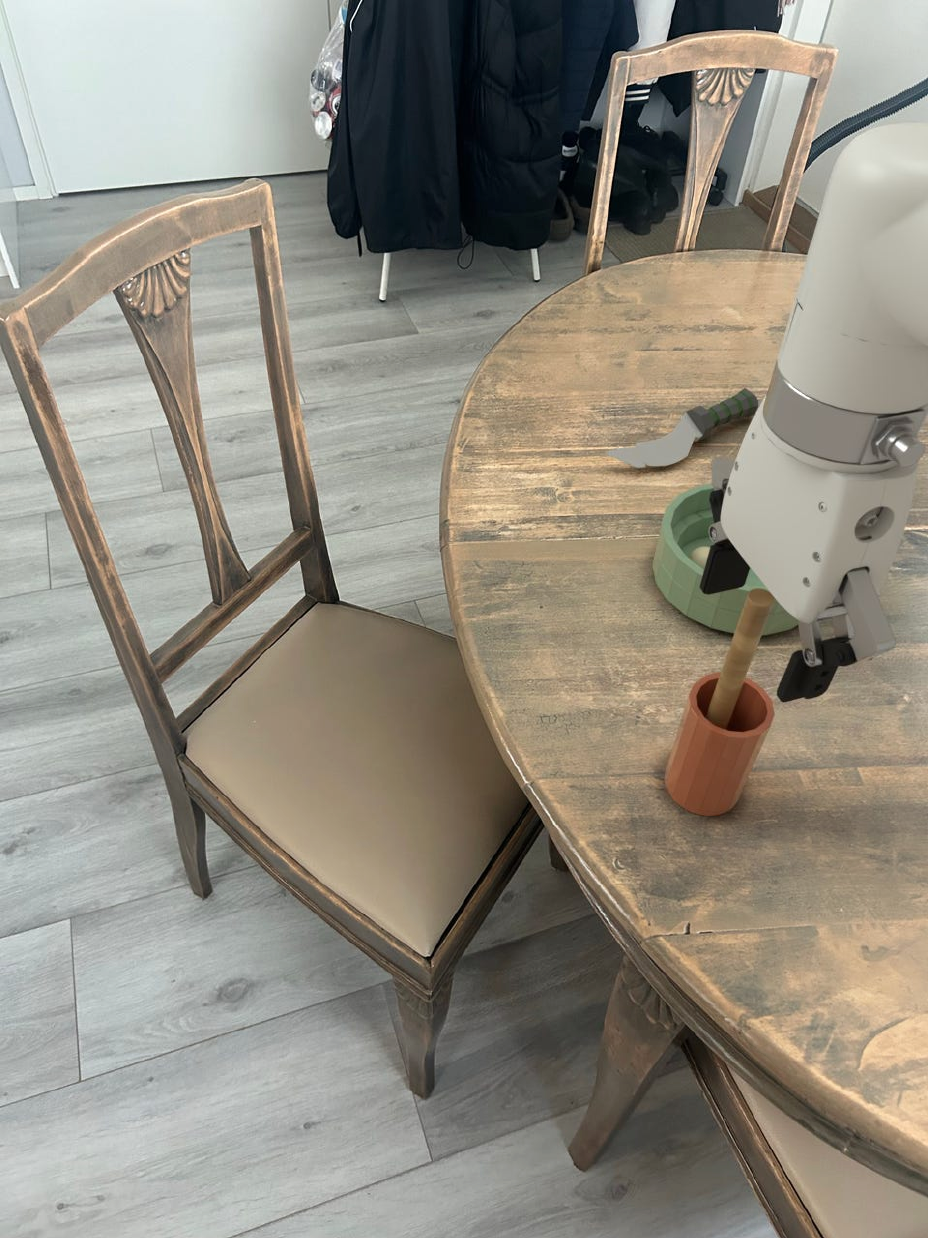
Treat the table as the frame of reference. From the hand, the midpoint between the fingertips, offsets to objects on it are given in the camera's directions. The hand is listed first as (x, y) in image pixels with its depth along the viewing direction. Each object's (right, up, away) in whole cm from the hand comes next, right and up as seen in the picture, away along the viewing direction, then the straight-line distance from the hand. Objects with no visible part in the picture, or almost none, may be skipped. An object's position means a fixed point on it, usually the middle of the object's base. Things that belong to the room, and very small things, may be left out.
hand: (758, 638), depth 56 cm
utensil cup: (0, -12, +12) cm, 17 cm away
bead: (+4, +7, +27) cm, 28 cm away
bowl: (+7, +5, +28) cm, 30 cm away
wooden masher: (-1, -11, +12) cm, 16 cm away
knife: (+6, +21, +44) cm, 49 cm away
